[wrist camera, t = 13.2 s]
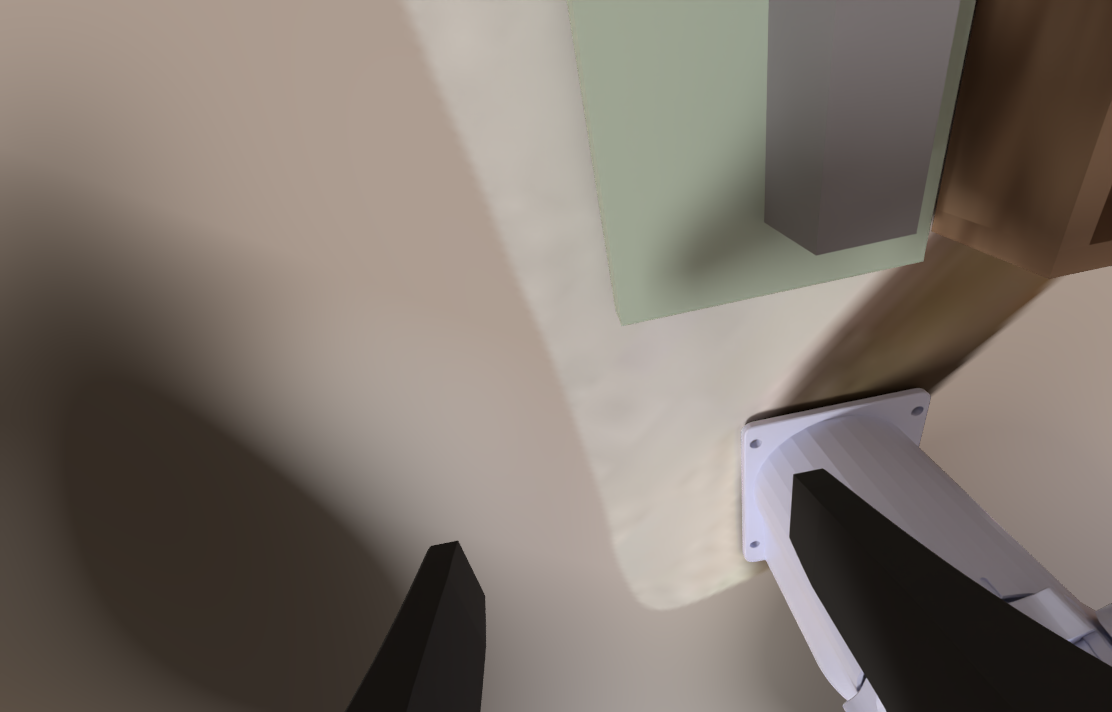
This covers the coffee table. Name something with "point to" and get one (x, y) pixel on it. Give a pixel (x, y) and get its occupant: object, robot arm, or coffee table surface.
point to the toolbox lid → (763, 140)
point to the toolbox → (1034, 137)
